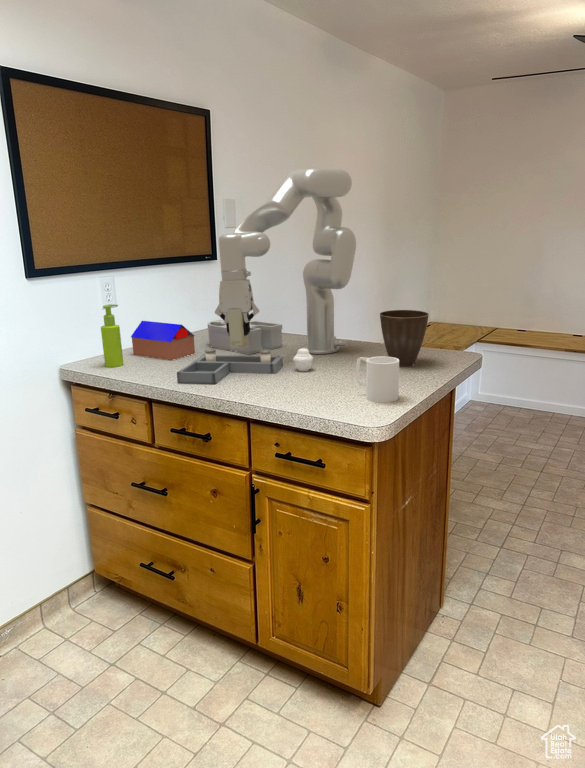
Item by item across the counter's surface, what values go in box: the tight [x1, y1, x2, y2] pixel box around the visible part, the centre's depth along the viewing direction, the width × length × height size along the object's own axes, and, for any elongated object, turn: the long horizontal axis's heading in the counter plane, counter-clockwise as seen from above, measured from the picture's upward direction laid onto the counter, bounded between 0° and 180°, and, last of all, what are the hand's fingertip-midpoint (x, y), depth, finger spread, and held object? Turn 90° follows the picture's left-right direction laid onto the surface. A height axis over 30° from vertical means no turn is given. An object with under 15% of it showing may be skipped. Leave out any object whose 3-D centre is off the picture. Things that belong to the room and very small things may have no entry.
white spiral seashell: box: [292, 347, 314, 372], centre depth 181 cm, size 6×6×7 cm
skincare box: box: [228, 309, 249, 348], centre depth 183 cm, size 6×4×12 cm
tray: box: [176, 361, 231, 385], centre depth 176 cm, size 12×14×3 cm
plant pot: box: [379, 309, 430, 367], centre depth 184 cm, size 15×15×16 cm
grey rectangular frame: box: [192, 354, 284, 374], centre depth 186 cm, size 27×10×3 cm, turn 78°
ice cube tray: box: [207, 319, 283, 355], centre depth 219 cm, size 17×28×9 cm, turn 47°
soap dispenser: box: [100, 303, 124, 368], centre depth 193 cm, size 6×7×20 cm
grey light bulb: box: [204, 347, 217, 361], centre depth 188 cm, size 3×3×6 cm
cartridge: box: [259, 348, 272, 363], centre depth 184 cm, size 3×3×6 cm
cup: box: [355, 355, 400, 404], centre depth 152 cm, size 8×12×10 cm
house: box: [130, 320, 196, 361], centre depth 208 cm, size 12×20×12 cm, turn 55°
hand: (238, 334), depth 184 cm, fingers closed on skincare box, 4 cm apart
